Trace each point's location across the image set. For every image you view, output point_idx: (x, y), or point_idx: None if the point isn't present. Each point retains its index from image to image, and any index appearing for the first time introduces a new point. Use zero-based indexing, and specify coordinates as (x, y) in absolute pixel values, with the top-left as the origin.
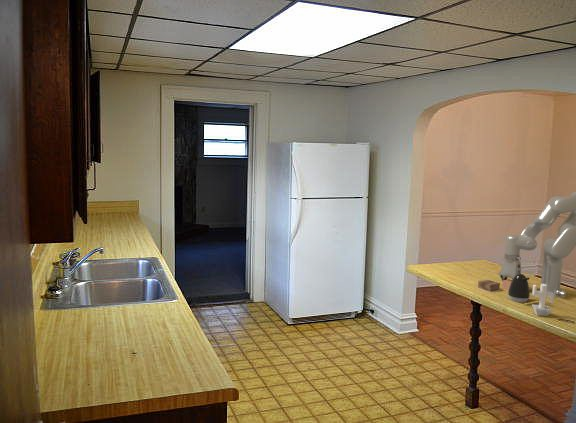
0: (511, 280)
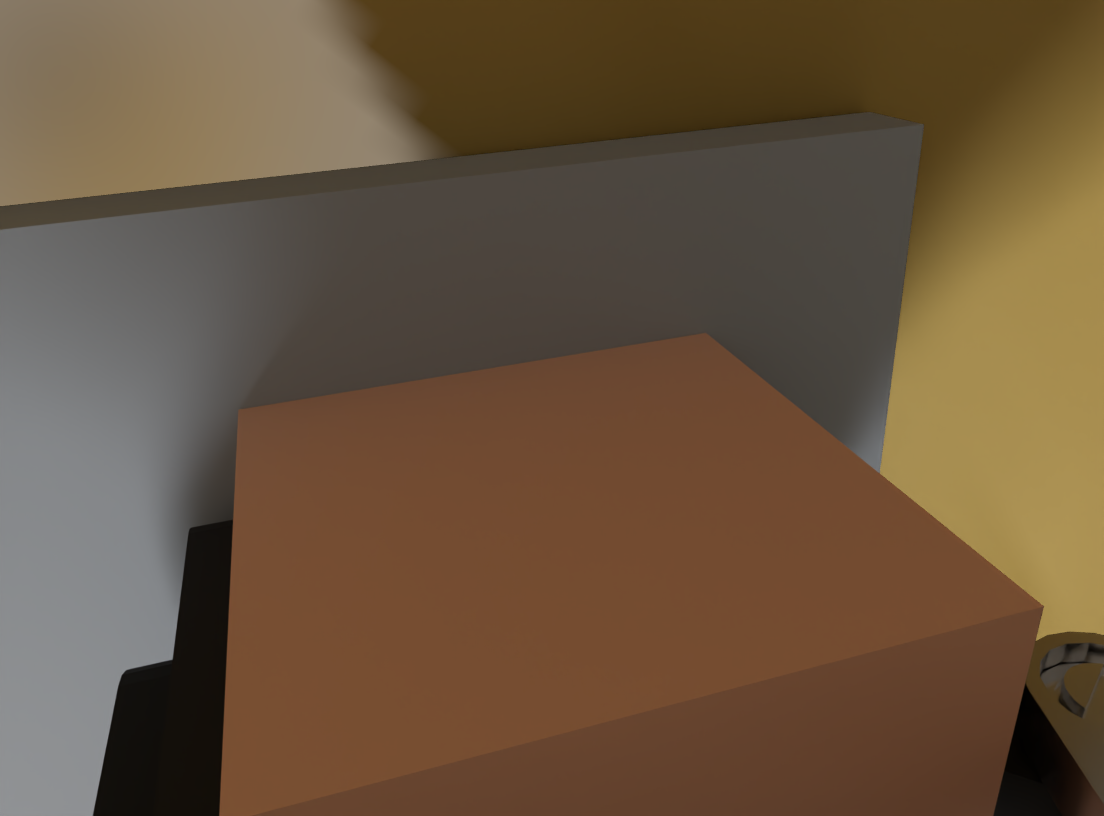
0: (655, 807)
